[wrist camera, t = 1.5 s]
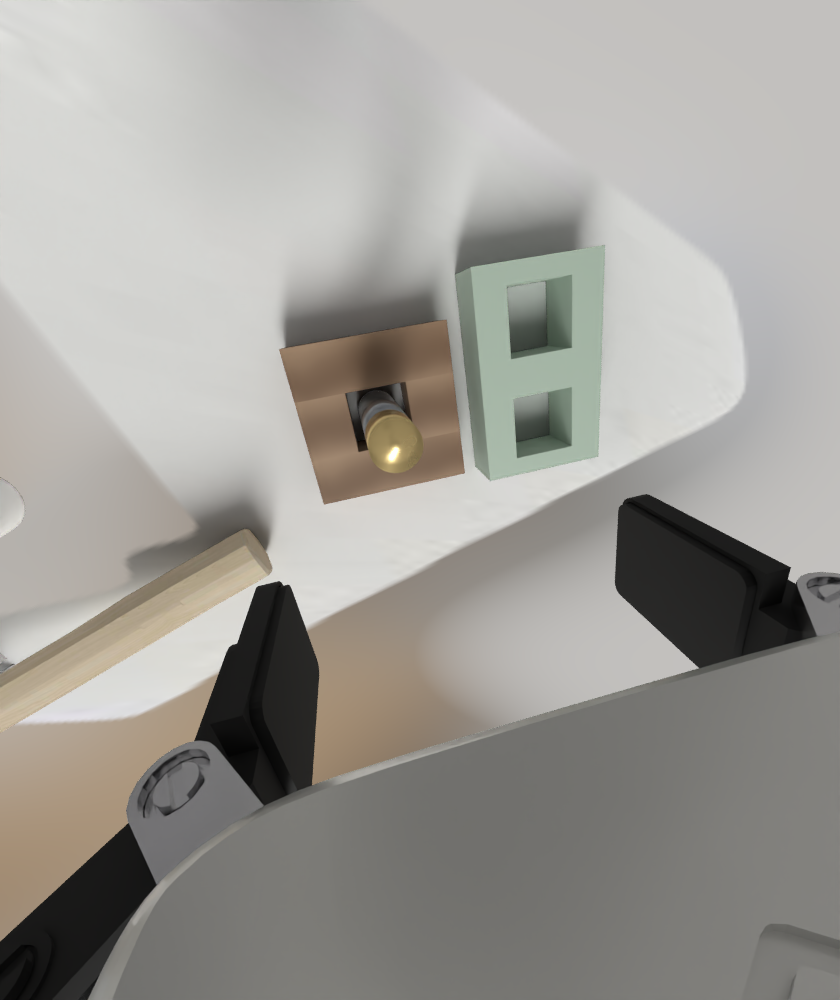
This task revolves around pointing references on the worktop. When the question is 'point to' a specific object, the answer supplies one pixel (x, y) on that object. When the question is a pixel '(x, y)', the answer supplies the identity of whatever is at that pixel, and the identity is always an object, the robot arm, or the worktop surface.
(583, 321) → the frame
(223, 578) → the hammer
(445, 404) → the socket block
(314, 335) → the worktop surface
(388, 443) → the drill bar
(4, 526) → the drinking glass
